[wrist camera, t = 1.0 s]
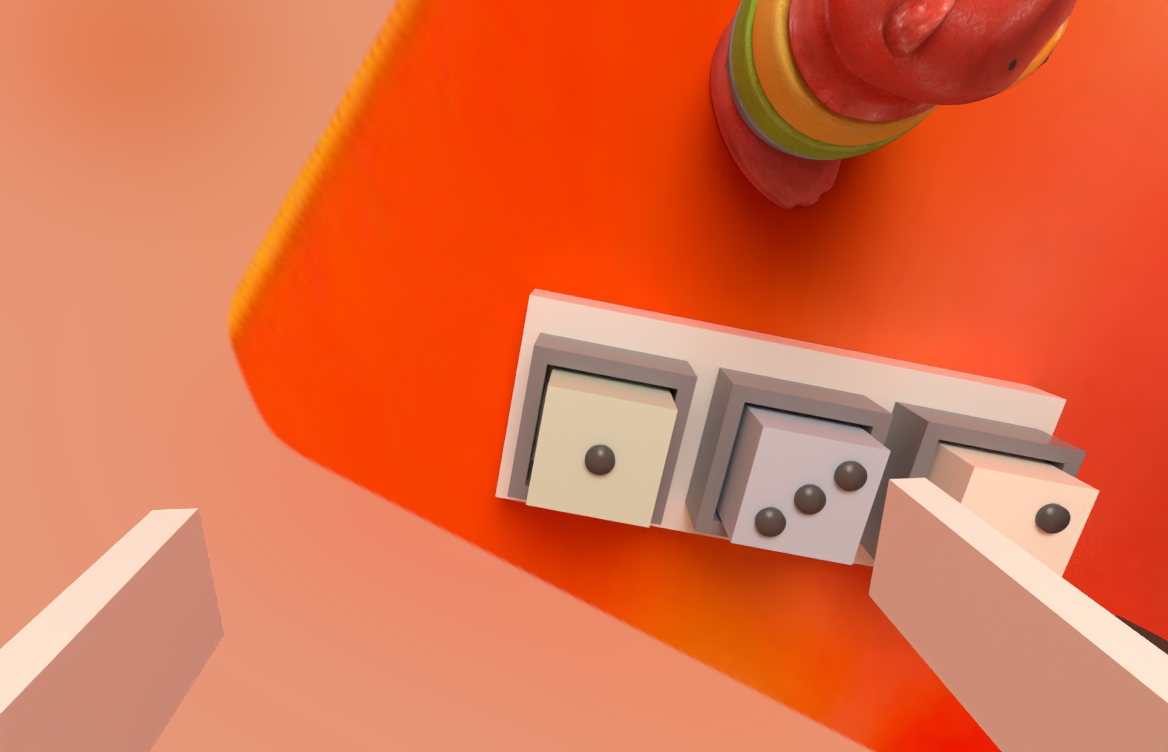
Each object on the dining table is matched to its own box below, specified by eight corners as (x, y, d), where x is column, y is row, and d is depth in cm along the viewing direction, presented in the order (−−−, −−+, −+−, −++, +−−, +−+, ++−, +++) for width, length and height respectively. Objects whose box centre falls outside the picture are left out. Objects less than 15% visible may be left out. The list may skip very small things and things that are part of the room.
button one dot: (667, 386, 32) (678, 412, 28) (643, 491, 33) (649, 530, 29) (553, 364, 32) (547, 387, 27) (534, 471, 33) (524, 507, 29)
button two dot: (1039, 458, 32) (1104, 493, 28) (998, 558, 34) (1055, 605, 30) (929, 437, 32) (978, 469, 28) (893, 538, 34) (935, 583, 30)
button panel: (1029, 385, 37) (1118, 420, 30) (960, 561, 40) (1029, 625, 33) (535, 288, 36) (522, 303, 30) (502, 475, 39) (484, 525, 33)
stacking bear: (793, 225, 35) (988, 232, 17) (660, 101, 33) (729, -26, 16) (940, 65, 33) (1327, -108, 15) (804, -76, 31) (1063, -443, 14)
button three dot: (855, 422, 32) (893, 453, 28) (822, 525, 34) (854, 568, 29) (743, 401, 32) (765, 428, 28) (715, 505, 33) (732, 545, 29)
